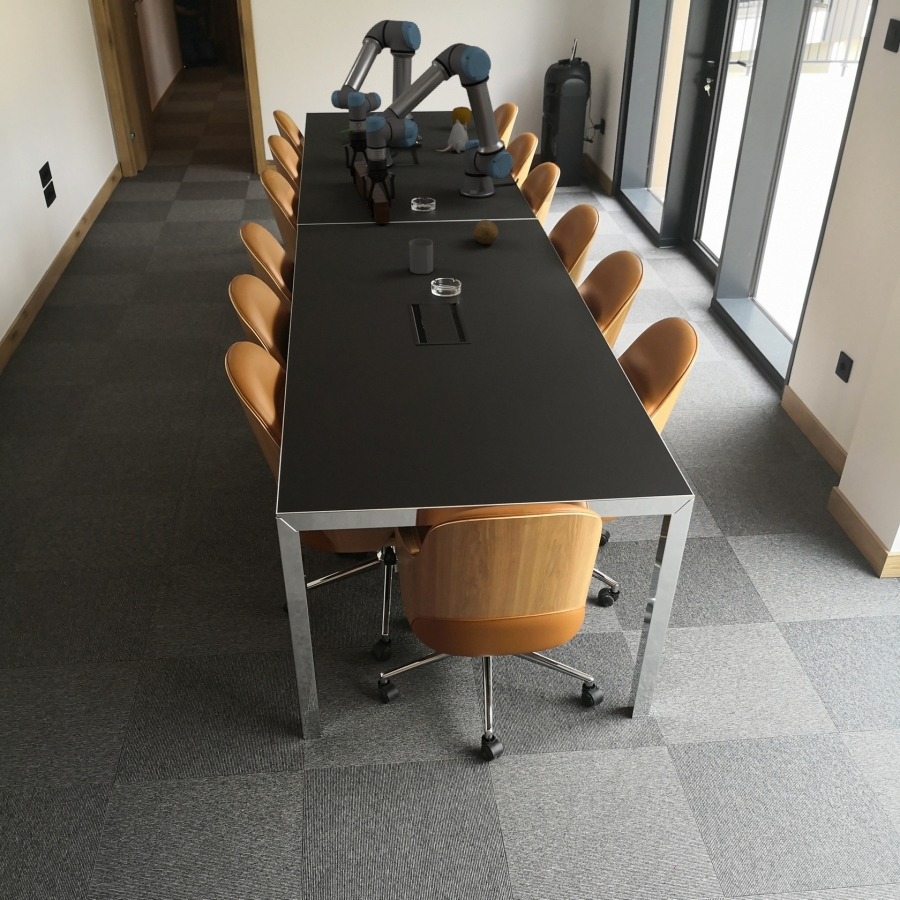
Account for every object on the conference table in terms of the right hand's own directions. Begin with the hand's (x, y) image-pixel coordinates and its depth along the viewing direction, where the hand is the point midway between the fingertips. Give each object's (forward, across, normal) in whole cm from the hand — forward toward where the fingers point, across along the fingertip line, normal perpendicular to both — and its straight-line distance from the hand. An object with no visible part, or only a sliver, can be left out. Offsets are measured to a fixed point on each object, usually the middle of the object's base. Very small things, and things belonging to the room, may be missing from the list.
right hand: (379, 216), depth 354 cm
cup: (+2, +5, -58) cm, 59 cm away
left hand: (0, 0, +50) cm, 50 cm away
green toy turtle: (+2, +16, +134) cm, 135 cm away
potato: (+2, +35, -36) cm, 50 cm away
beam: (+1, 0, +25) cm, 25 cm away
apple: (+2, +72, +148) cm, 165 cm away
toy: (+2, +55, +100) cm, 114 cm away
